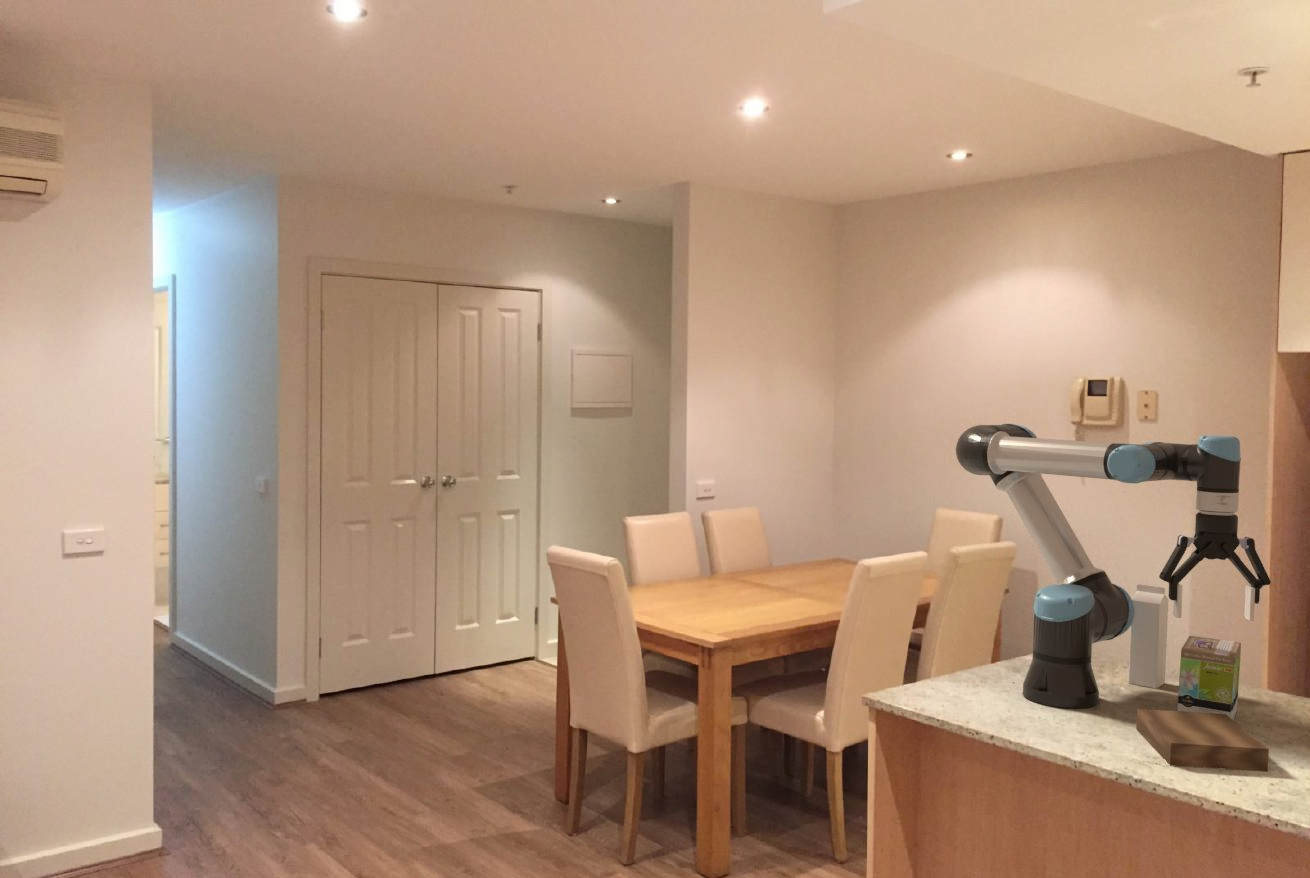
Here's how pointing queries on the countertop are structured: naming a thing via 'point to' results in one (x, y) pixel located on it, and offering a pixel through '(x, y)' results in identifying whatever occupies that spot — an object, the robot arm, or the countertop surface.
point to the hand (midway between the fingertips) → (1212, 618)
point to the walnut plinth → (1201, 740)
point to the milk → (1148, 637)
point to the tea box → (1209, 676)
